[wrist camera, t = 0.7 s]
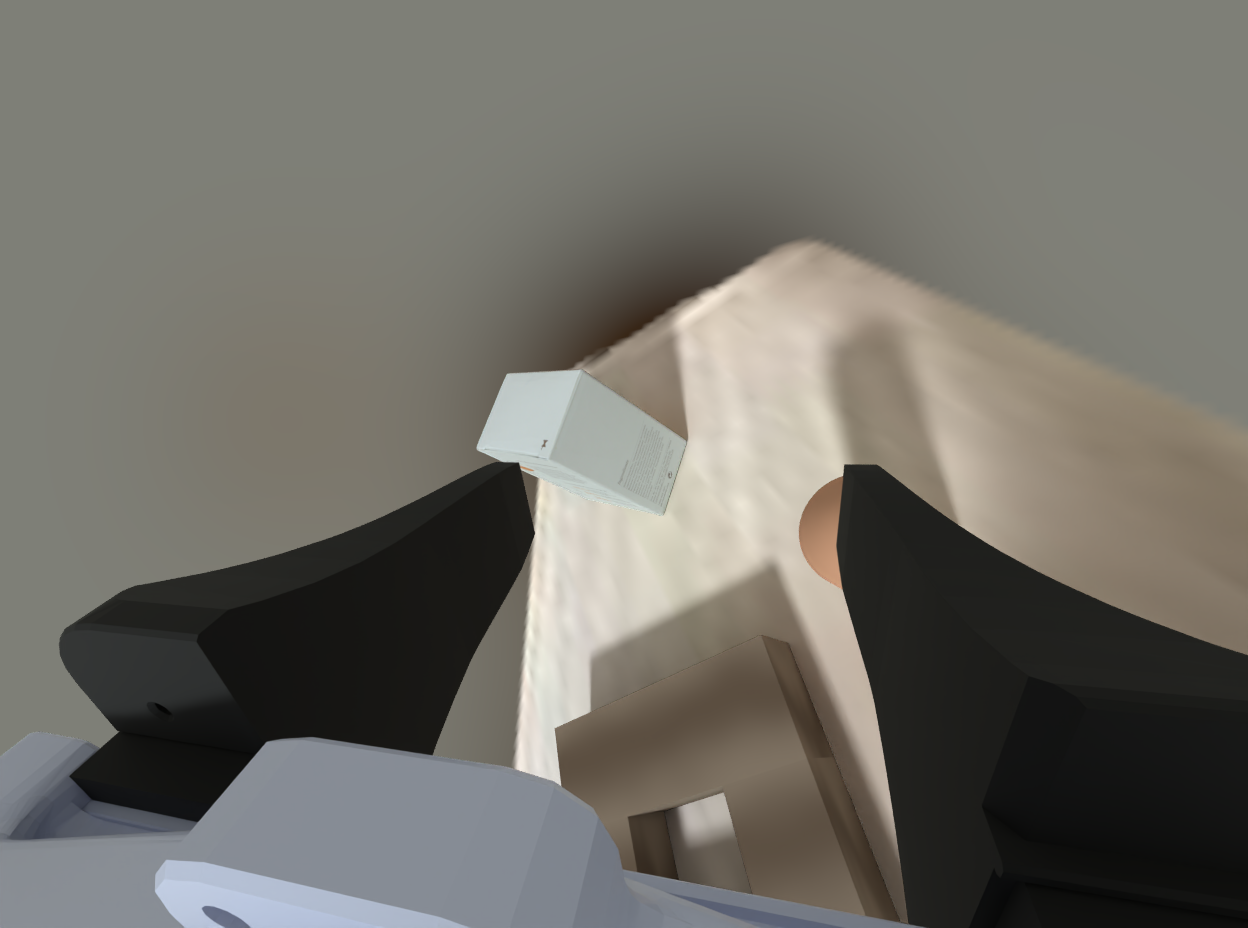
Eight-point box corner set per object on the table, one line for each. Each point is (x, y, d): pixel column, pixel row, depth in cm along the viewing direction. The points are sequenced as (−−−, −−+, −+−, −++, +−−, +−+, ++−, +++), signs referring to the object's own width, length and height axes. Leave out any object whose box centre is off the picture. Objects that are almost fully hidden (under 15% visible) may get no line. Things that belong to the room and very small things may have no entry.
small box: (690, 441, 36) (584, 366, 29) (664, 519, 35) (548, 460, 28) (610, 434, 41) (505, 369, 34) (586, 500, 40) (472, 448, 33)
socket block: (983, 1128, 17) (965, 1182, 15) (650, 1126, 23) (605, 1164, 21) (787, 643, 27) (760, 635, 24) (590, 729, 32) (554, 728, 30)
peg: (998, 607, 22) (952, 554, 15) (904, 644, 23) (829, 609, 17) (942, 525, 24) (883, 451, 18) (861, 564, 26) (782, 508, 20)
